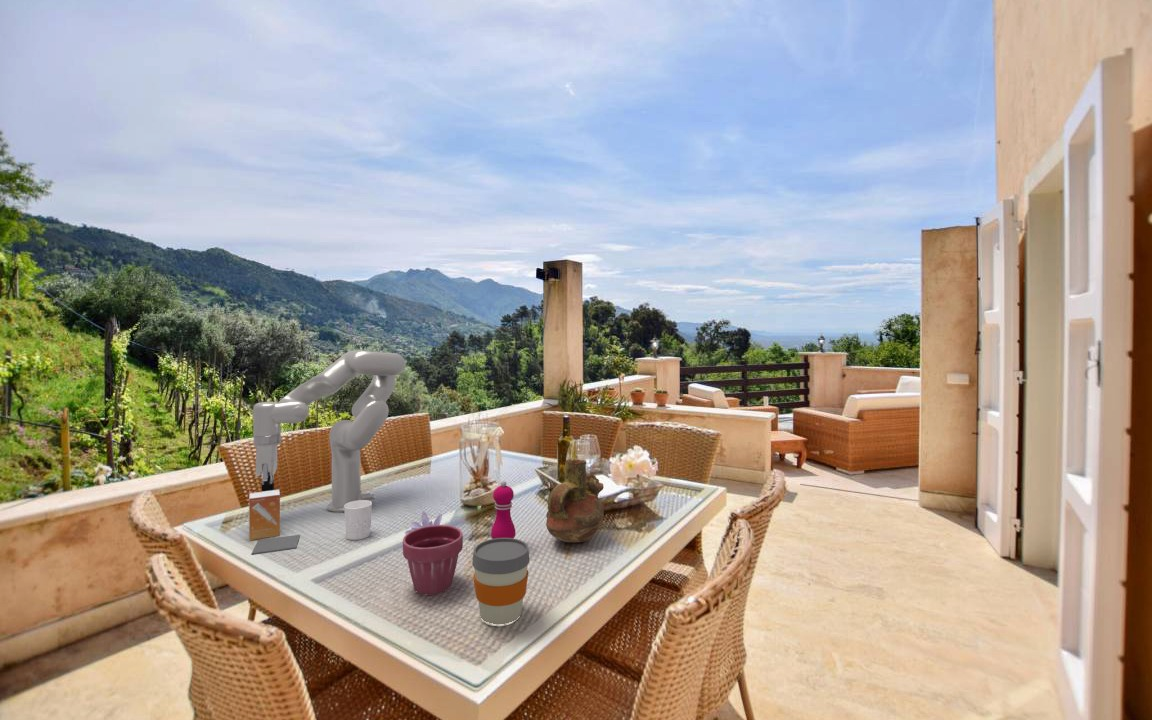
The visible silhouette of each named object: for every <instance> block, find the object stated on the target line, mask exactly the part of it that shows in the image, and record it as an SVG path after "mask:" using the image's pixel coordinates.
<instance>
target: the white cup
mask: <svg viewBox="0 0 1152 720" xmlns="http://www.w3.org/2000/svg"><path fill="white" fill-rule="evenodd" d="M372 510H373V502H372V501H371V500H359V501H353V502H349V503H347V504H345V505H344V524H345V537H346V539H348V540H349V541H358V540H362V539H366V538H369V536H370V535H371V526H372V516H373V515H372V513H373V512H372Z"/></svg>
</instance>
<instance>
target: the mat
mask: <svg viewBox="0 0 1152 720" xmlns="http://www.w3.org/2000/svg"><path fill="white" fill-rule="evenodd" d="M300 537H301V534H294V535H287V536H277V537H269V538H262V539H257V542H256V544H255V546H254V547H253V550H252V552H251V555H258V554H267V553H272V552H280V551H288V550H295V549H297V547H298V544H299V540H300Z"/></svg>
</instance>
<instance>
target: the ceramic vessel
mask: <svg viewBox="0 0 1152 720" xmlns="http://www.w3.org/2000/svg"><path fill="white" fill-rule="evenodd" d="M603 490H604V484H603V482H600V480H599V478H597V477H596V475H595V474H593V473H587V461H586V460H585V459H576V458H574V459H566V460H565V464H564V480H563V482H562V483H559V484H557V485H555V487H553V489H552V490H551V491H550V493H549V495H548V496H547V497H548V499H547V512H546V515H545V517H546V523H545V526H546V530H547V532H548V533H549V534H550V535H551V536H552V537H554V538H555V539H557V540H559V541H562V542H564V543H584V542H588V541H589V540H590V539H591V538H592V537H593V536H595V534H597V532H598V531H599V529H600V527H601V525H602V523H603V519H604V513H605V512H604V511H605V509H604V507H603V505H602V503H601V501H600V500H599V494H600V493H601V492H602V491H603Z"/></svg>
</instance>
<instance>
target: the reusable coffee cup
mask: <svg viewBox="0 0 1152 720" xmlns="http://www.w3.org/2000/svg"><path fill="white" fill-rule="evenodd" d="M529 549H530V548H529V545H528V544H527V543H526V542H525V541H523V540H521V539H517V538H495V539H492V538H491V539H486V540H484V541H481V542H480V543H477V544H476V546H475V547H474V548H473V552H472V553H473V554H472V566H473V567H472V568H474V574H473V584H474V592H475V598H476V599H477V600H478V608H479V616H481V617H480V619H481V618H482V619H483V620H484V621H486V622H489V623H493V624H505V623H509V622H512V621H514V620H516V619H517V618H518V617H519V616H520V615H521V616H522V610H523V605H524V604H523V603H524V602H523V601H524V598H525V596H526V594H527V586H528V577H529V570H528V566H529V563H530V561H531V559H530V550H529Z"/></svg>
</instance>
